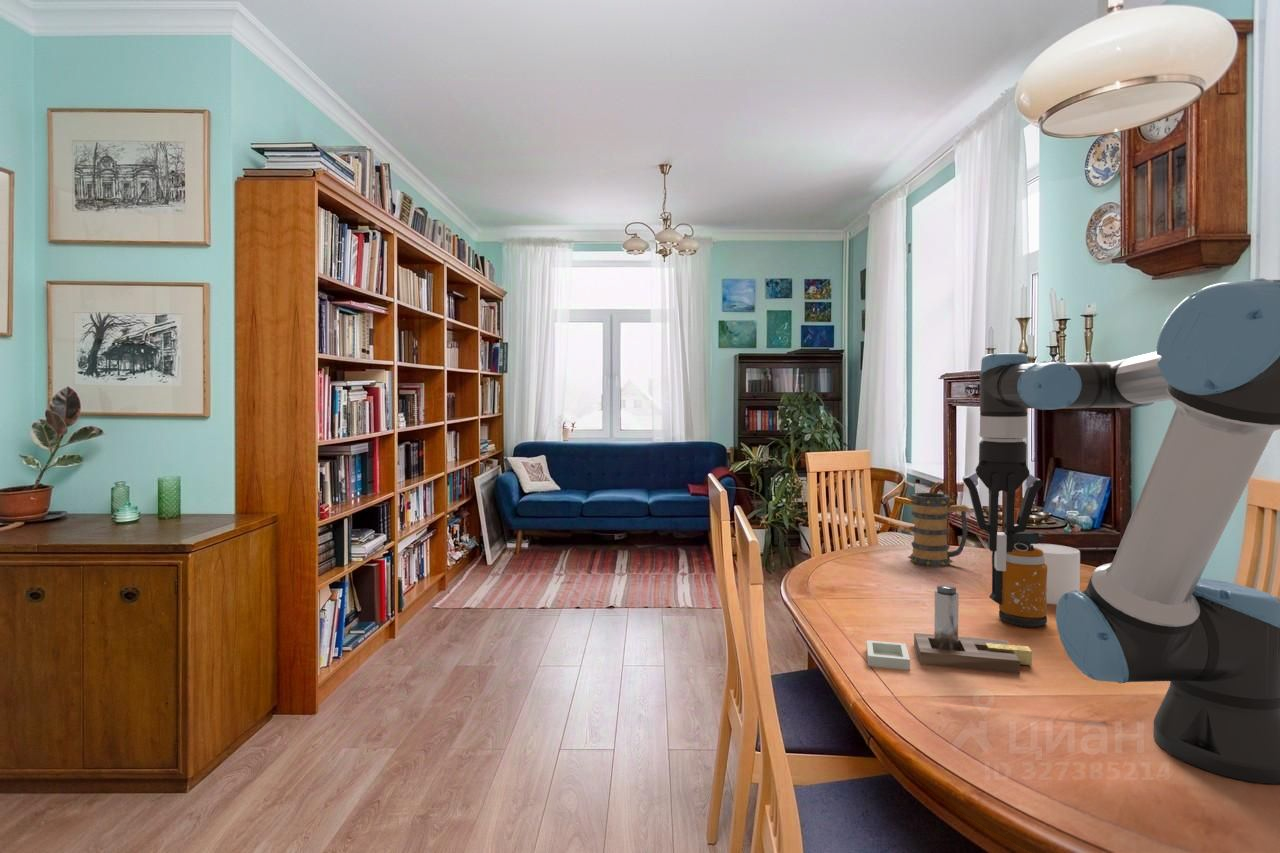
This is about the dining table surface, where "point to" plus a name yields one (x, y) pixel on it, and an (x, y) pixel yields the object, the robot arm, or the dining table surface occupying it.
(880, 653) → the pale grey square tray
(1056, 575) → the cup
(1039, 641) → the dining table surface
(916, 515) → the mug
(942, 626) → the metal round-nosed cylinder
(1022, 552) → the canister
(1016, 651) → the bar
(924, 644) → the socket block
